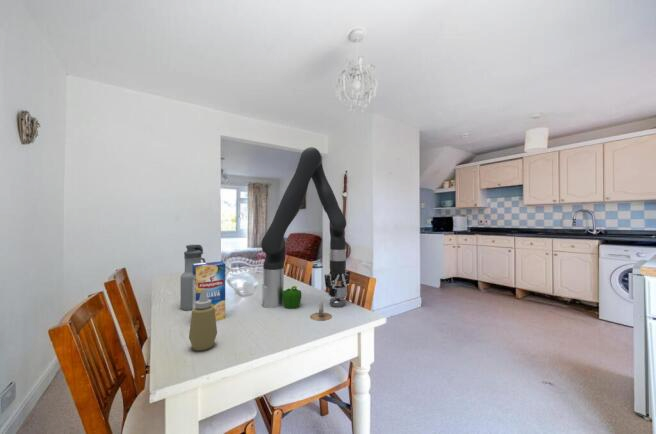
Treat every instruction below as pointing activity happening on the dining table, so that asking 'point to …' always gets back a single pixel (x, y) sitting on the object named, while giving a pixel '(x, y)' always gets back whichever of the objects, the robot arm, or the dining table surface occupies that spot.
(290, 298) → the bell pepper
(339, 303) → the hub
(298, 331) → the dining table surface
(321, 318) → the stand
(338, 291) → the grey small box
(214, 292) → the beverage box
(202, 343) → the squeeze bottle
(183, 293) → the water bottle
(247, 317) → the dining table surface
